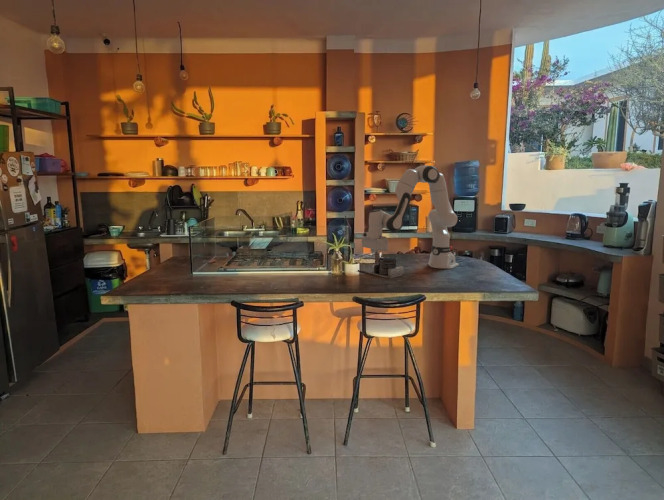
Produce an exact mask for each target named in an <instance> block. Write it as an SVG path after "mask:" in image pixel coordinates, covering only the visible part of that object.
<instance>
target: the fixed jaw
mask: <svg viewBox="0 0 664 500" xmlns="http://www.w3.org/2000/svg"><path fill="white" fill-rule="evenodd" d="M359 272H361V273H365V274H368V275H372V276H375V277H379V278H384V279H394V278H397V277H402V276H403V275H404V274H405V272H404V266H401V265H400V266H396V267H395V268H391V269H388V275H379V273H372V271H371V272H370V271H367V270H363V269H360V271H359Z"/></svg>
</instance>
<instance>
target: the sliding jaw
mask: <svg viewBox="0 0 664 500" xmlns="http://www.w3.org/2000/svg"><path fill="white" fill-rule="evenodd" d="M380 256H381V255H380V252H379V251H378V252H377V253H375V256H374V264H371V272H372V273H375V274H379V257H380Z"/></svg>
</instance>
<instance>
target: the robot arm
mask: <svg viewBox="0 0 664 500" xmlns="http://www.w3.org/2000/svg"><path fill="white" fill-rule="evenodd" d="M418 183H423V184H425V183H426V184H428V188H429V194H430V201H431V203H432V205H433V206H434V209H432V210H430V211H429V212H428V215H427V218H428V220H429V222H430V226H431V229H432V230H431V232H432V245H431V252H430V253H429V254H430V255H429V259H428V260H429V261H428V262H427V265H428V266H429V267H430V268H435V269H450V270H451V269H454V268H456V267H458V266H459V263H458V262H456V256H455V255H454V253H452V252H451V250H453V246H450V238H451V235H450V233H449V230H448V228H451V227H454V226H456V225H457V223H458V216H457V214H456V213H455V212H454V210H453V208H452V205H451V203H450V199H449V193H448V187H447V183H446V179H445V176H444V174H443V173H441V172H439V170H438V168H437V167H435V166H433V165H428V164H427V165H425V164H424V165H417V166H414V168H407V169H405V170H404V172H403V174H402V176H401V177H400V178H399V180H398V182H397V184H396V187H395V190H394V191H395V195H396V196H397V199H398V203H397V207H396V209H395V212H394V214H390V213H387V212H385V211H383V210H382V209H379V208H378V209H377V208H376V209H372V210H370V211H369V214H368V229H367V231H365V232H362V233H361V234H362V237H361V246H362V248H365V249H370V251H371V253H372V254H371V256H373V257H375V253H377V252H378V253H379V251H380V252H387V251H388V250H389V239H388V237H387V236H383V230H388V231H390V232H391V233H397V232H400V230H402V228H403V225H404V220H405V219H404V218H405V216H406V213H407V210H408V208H409V205H410V203H411V200H412V199H411V198H412V194H413V192H414V190H415V188H416V187H417V184H418Z"/></svg>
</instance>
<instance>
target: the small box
mask: <svg viewBox="0 0 664 500" xmlns="http://www.w3.org/2000/svg"><path fill="white" fill-rule="evenodd" d="M395 267H397V257H383V256H382V257H380V256H379V273H378V274H379V275H383V276H388V269H391V268H395Z"/></svg>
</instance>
